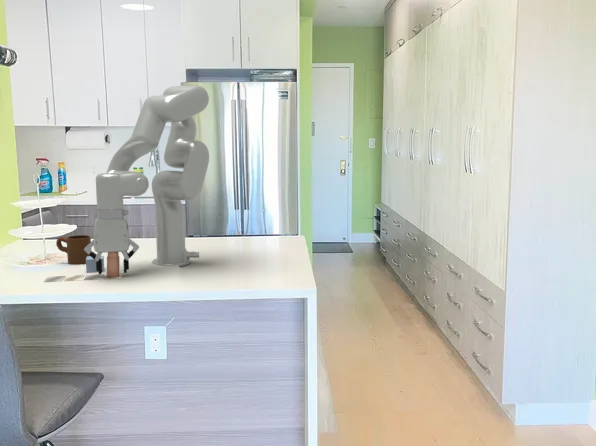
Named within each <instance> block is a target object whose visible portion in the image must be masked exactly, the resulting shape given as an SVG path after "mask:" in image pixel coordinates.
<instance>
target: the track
mask: <svg viewBox="0 0 596 446" xmlns="http://www.w3.org/2000/svg"><path fill="white" fill-rule="evenodd" d="M123 273H124V272H123ZM123 273H121V272H119V277H107V273H105V274H104V273H102V274H99V273H98V274H80V275H79V274H76V275H61V276H60V275H59V276H58V275H57V276H47V277H46V278H45V280H44V281H43V283H55V282H57V283H58V282H75V281H76V282H77V281H94V280H95V281H96V280H112V279H113V280H115V279H118V280H120V279H123Z"/></svg>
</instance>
